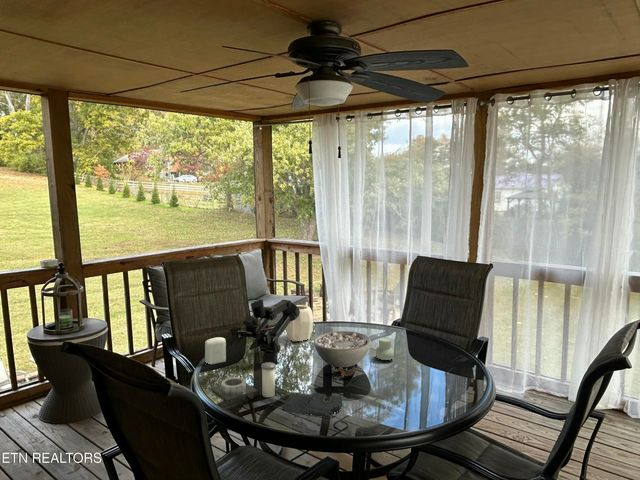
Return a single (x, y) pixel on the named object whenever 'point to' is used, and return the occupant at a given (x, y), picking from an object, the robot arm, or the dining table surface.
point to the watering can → (301, 324)
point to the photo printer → (215, 350)
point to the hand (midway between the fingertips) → (240, 347)
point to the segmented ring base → (233, 388)
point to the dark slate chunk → (313, 404)
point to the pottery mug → (346, 371)
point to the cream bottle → (268, 379)
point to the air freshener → (384, 349)
